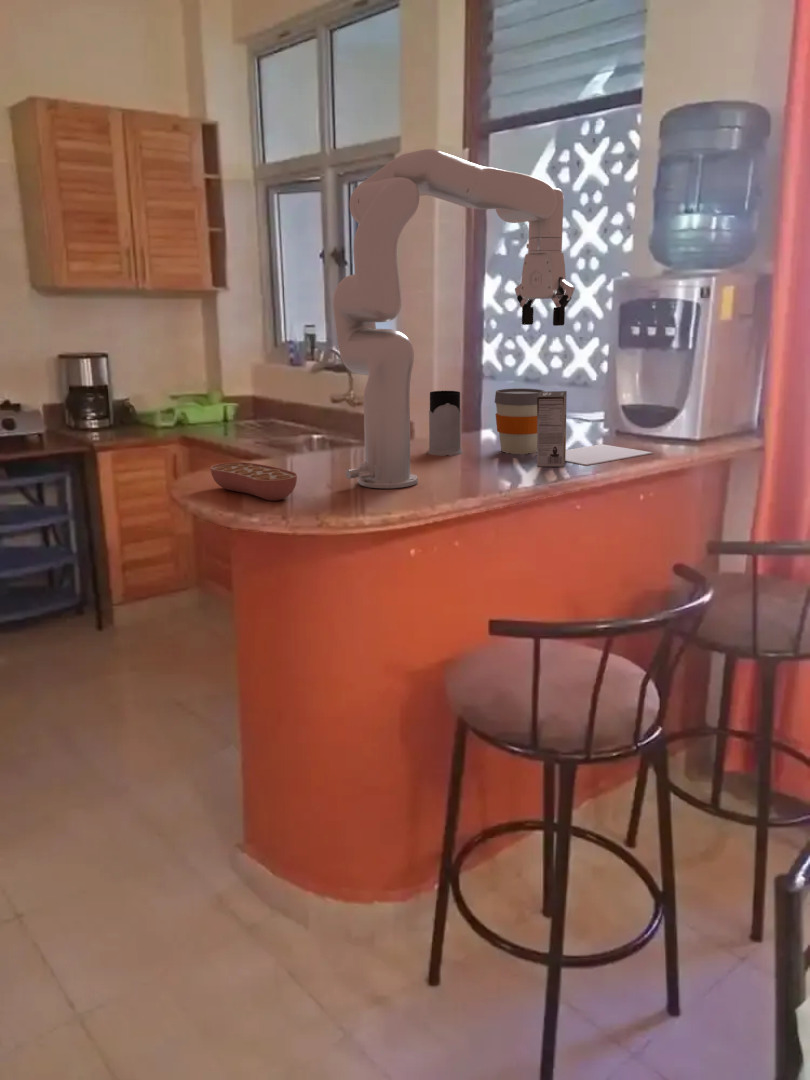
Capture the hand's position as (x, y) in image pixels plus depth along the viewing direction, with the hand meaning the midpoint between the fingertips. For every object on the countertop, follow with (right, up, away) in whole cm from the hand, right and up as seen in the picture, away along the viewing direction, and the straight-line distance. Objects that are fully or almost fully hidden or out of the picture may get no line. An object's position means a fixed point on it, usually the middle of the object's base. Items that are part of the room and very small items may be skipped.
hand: (542, 325), depth 202 cm
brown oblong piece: (-62, -41, -25) cm, 78 cm away
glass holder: (-22, -27, +20) cm, 40 cm away
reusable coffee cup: (-3, -27, +18) cm, 33 cm away
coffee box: (+2, -32, +2) cm, 32 cm away
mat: (+14, -29, +12) cm, 34 cm away
